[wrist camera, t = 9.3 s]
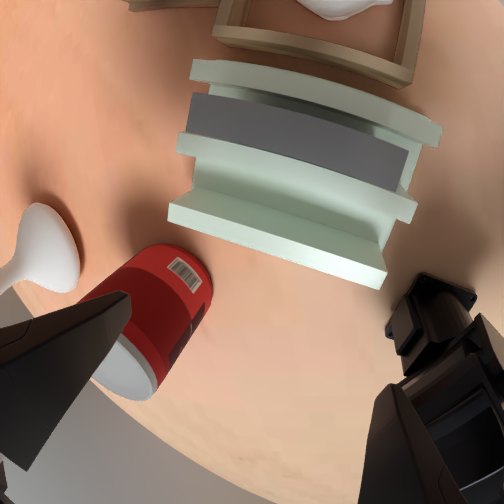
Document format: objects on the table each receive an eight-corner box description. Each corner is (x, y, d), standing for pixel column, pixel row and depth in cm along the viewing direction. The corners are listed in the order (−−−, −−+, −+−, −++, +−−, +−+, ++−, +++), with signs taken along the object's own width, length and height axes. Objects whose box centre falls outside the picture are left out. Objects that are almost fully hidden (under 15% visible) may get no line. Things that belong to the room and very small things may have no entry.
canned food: (135, 233, 24) (46, 299, 15) (216, 250, 23) (140, 342, 13) (144, 302, 28) (78, 374, 18) (215, 323, 26) (161, 416, 17)
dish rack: (425, 118, 14) (454, 119, 10) (372, 262, 20) (381, 302, 15) (221, 61, 16) (188, 46, 12) (194, 205, 21) (159, 229, 17)
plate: (375, 138, 15) (409, 150, 8) (367, 162, 16) (395, 192, 9) (250, 102, 16) (193, 92, 9) (244, 126, 17) (185, 131, 10)
